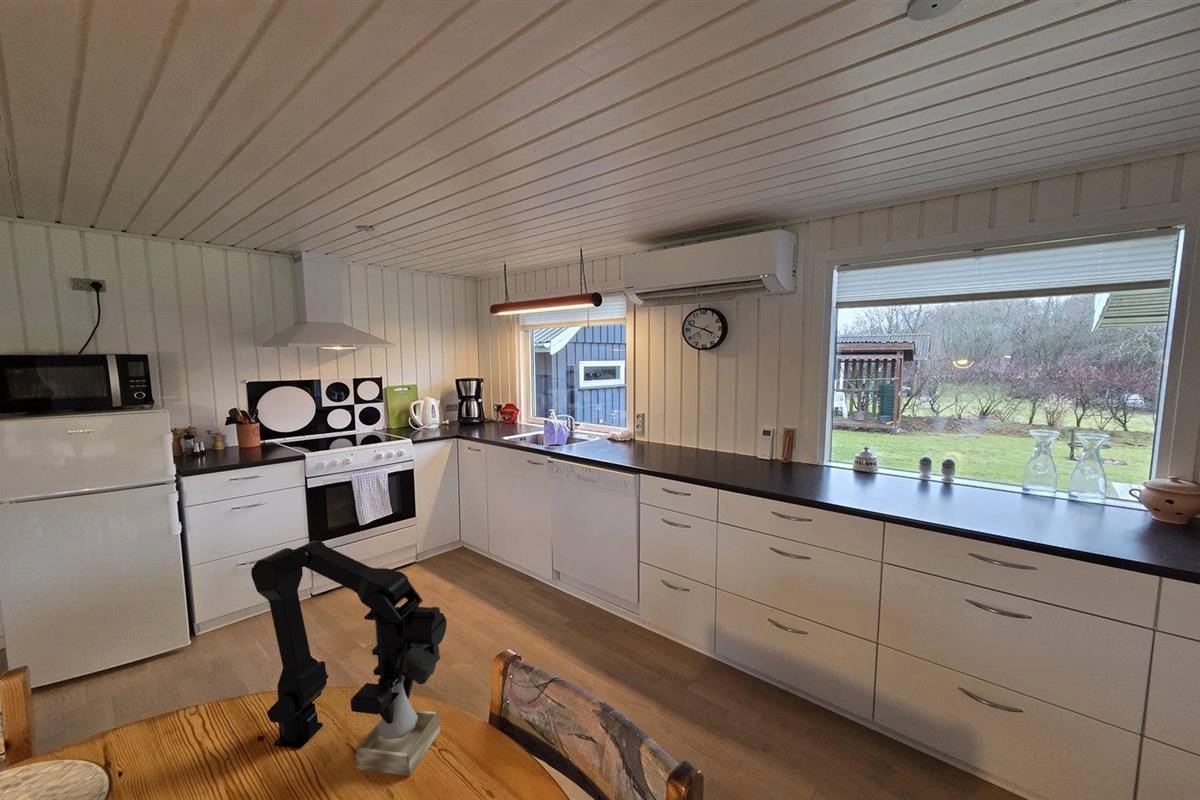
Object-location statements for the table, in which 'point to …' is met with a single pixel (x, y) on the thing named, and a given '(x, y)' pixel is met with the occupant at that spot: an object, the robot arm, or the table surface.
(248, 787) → the table surface
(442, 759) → the table surface
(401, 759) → the crate
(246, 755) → the table surface
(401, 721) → the flask
